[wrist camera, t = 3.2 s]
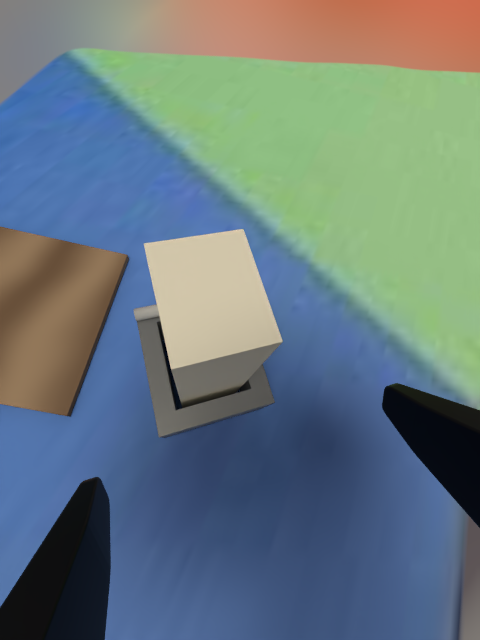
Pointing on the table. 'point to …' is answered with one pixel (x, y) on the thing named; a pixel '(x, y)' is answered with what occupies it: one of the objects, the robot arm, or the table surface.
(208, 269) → the tall pillar on plate
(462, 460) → the robot arm
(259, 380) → the grey hollow square frame
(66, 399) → the board
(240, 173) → the table surface
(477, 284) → the table surface
